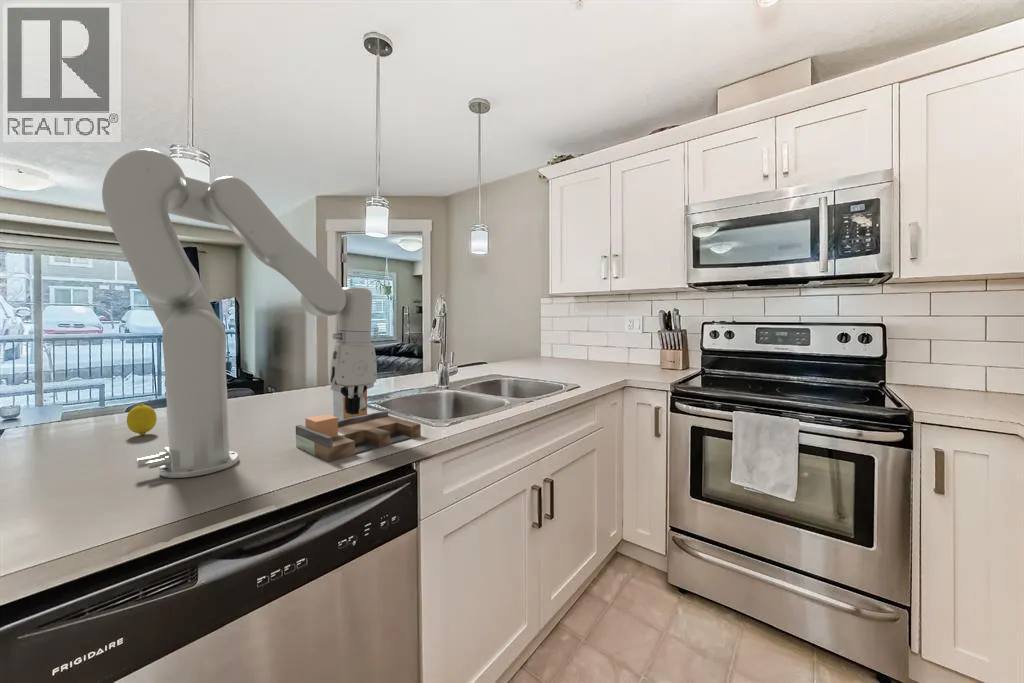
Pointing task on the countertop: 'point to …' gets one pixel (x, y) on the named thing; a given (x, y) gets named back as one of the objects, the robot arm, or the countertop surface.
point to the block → (323, 424)
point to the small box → (340, 406)
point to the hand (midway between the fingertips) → (352, 413)
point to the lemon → (141, 419)
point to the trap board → (356, 435)
